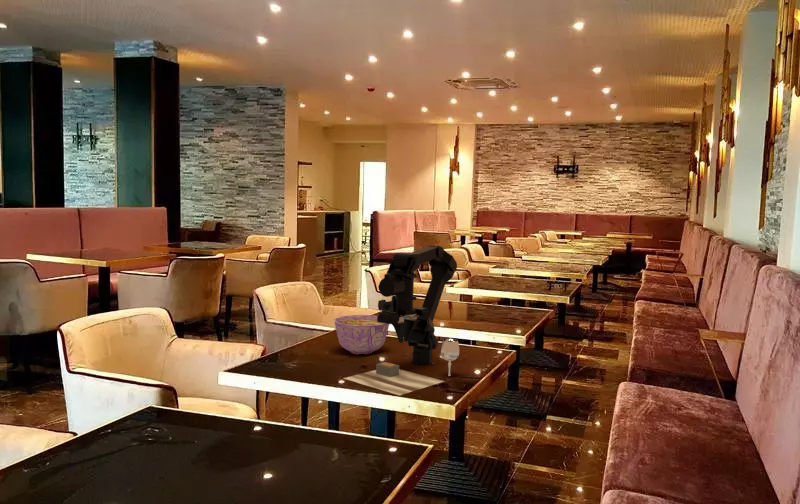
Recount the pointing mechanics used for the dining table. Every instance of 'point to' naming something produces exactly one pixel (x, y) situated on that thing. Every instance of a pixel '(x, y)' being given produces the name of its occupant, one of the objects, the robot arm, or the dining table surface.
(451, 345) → the wineglass
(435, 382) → the subfloor board
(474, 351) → the dining table surface
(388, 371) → the block
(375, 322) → the bowl of food
